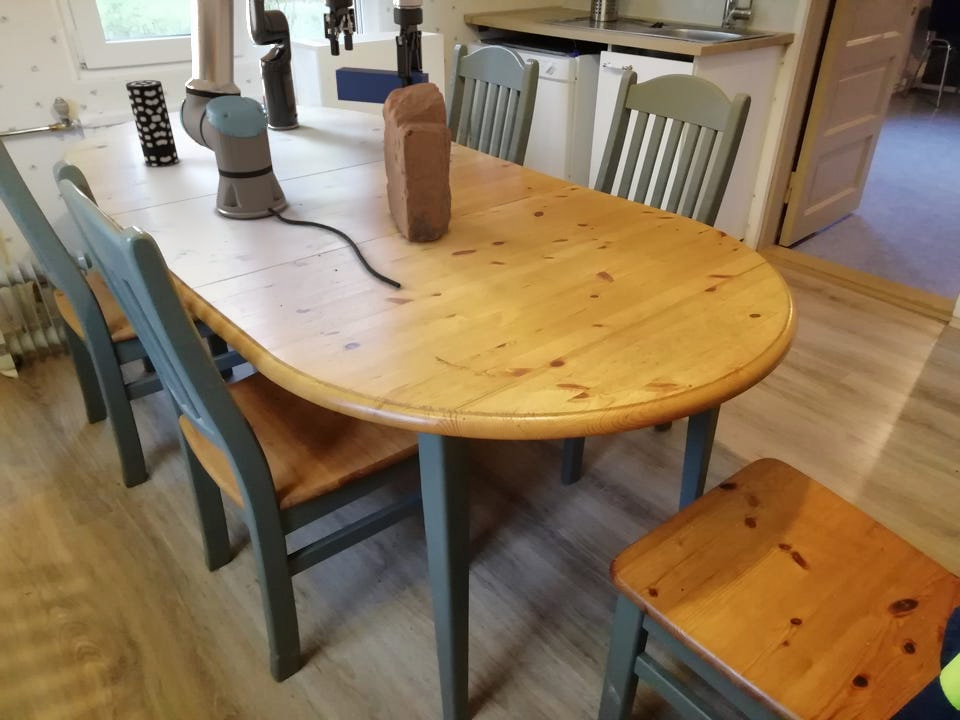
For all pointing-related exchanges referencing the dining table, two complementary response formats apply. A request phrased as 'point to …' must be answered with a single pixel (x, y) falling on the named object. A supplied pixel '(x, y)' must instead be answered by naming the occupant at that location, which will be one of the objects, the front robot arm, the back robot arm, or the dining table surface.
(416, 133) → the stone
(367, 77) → the bar
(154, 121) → the black spotted cylinder
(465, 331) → the dining table surface
